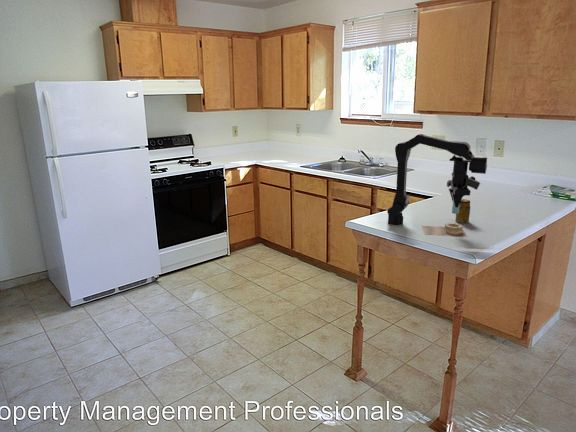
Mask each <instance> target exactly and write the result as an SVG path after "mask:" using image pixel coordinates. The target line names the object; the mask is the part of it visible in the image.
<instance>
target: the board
mask: <svg viewBox="0 0 576 432" xmlns="http://www.w3.org/2000/svg"><path fill="white" fill-rule="evenodd" d="M421 228H422V231H423V234H424V235H425V236H445V237H466V238H468V235H467V234H466V232H465V231H464V229H463V228H462V233H461V234H449V233H446V232H445V231H444V229H445V226H435V225H421Z"/></svg>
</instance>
